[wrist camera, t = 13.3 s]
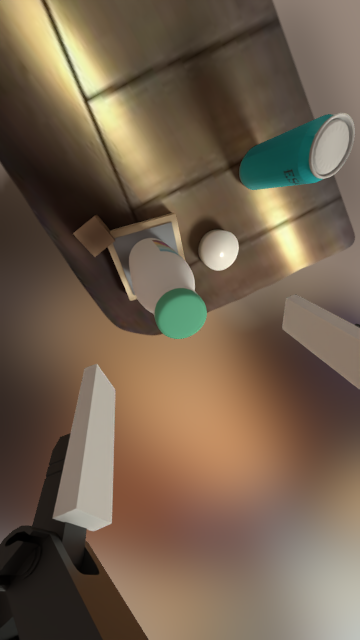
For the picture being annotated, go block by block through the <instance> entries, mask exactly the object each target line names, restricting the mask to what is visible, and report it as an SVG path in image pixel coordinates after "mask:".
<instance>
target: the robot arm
mask: <svg viewBox="0 0 360 640" xmlns="http://www.w3.org/2000/svg"><path fill="white" fill-rule="evenodd" d="M282 329H283V330H284V331H286V332H287V333H288V334H289V335H291V336H292V337H293V338H295V339H296V340H297V341H298V342H300V343H301V344H302V345H303V346H305V347H306V348H307V349H309V350H310V351H311V352H312V353H314V354H315V355H316V356H317V357H319V358H320V359H321V360H323V361H324V362H325V363H326V364H328V365H329V366H330V367H332V368H333V369H334V370H335V371H337V372H338V373H339V374H340V375H342V376H343V377H344V378H346V379H347V380H348V381H349V382H351V383H352V384H353V385H354V386H356V387H357V388H358V389H360V325H359V324H355V325H353V324H351V323H349V322H347V321H346V320H344V319H342V318H340V317H338V316H336V315H334V314H332V313H330V312H328V311H327V310H325V309H323V308H321V307H319V306H317V305H315V304H313V303H311V302H310V301H308V300H306V299H304V298H302V297H300V296H298V295H293V296H290V297H287V298H286V303H285V311H284V319H283V326H282ZM114 421H115V389H114V387H113V386H112V384H111V383H110V382H109V380H108V379H107V377H106V376H105V375H104V373H103V372H102V370H101V369H100V368H99V366H98V365H97V364H95V365H93V366H90V367H87V368H85V369H84V374H83V378H82V383H81V388H80V393H79V398H78V402H77V406H76V411H75V416H74V420H73V425H72V430H71V433H70V434H67V435H65V436H62V437H60V439H59V441H58V442H57V444H56V446H55V448H54V449H53V452H52V455H51V459H50V463H49V465H50V466H49V467H48V470H47V474H46V479H45V481H44V485H43V488H42V492H41V496H40V500H39V503H38V507H37V511H36V514H35V518H34V522H33V525H32V526H20V527H19V528H17V529H15V530H13V531H12V532H11V533H10V534H9V535H8V536H7V537H6V538H5V539H4V540H3V541H2V543H1V544H0V640H148V638H147V636H146V635H145V633H144V632H143V630H142V628H141V627H140V625H139V624H138V622H137V620H136V619H135V617H134V616H133V614H132V612H131V611H130V609H129V608H128V606H127V604H126V603H125V601H124V600H123V598H122V597H121V595H120V593H119V592H118V590H117V588H116V587H115V585H114V584H113V582H112V580H111V579H110V577H109V576H108V574H107V572H106V571H105V569H104V567H103V566H102V564H101V563H100V561H99V560H98V558H97V556H96V555H95V553H94V552H93V550H92V548H91V547H90V545H89V543H88V542H87V541H85V538H86V529H88V530H91V531H95V530H98V529H100V528H102V527H104V526H106V525H109V524H111V523H112V499H113V458H114Z"/></svg>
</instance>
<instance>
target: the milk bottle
mask: <svg viewBox="0 0 360 640" xmlns="http://www.w3.org/2000/svg"><path fill="white" fill-rule="evenodd" d="M129 268H130V275H131V280H132V285H133V289H134V292H135V295H136V297H137V299H138V300H139V302H140V303H141V304H142V305H143V307H145V308H146V309H147V310H148V311H150V312H152V313H154V316H155V320H156V323H157V326H158V328H159V329H160V331H161V332H162V333H163V334H164V335H166V336H168V337H170V338H174V339H182V338H187V337H189V336H191V335H193V334H195V333H196V332H197V331H198V330H200V328H201V327H202V326H203V324H204V322H205V320H206V316H207V310H206V306H205V303H204V302H203V300H202V299H201V297H200V296H199V295H198V294H197V293H196V292H195V281H194V276H193V273H192V271H191V269H190V267H189V265H188V264H187V263H186V261H185V260H184V259H183V258H182V257H181V256H180V255H179V254H178V253H176V252H175V251H174V250H173V249H172V248H171V247H170V246H168V245H167V244H166V243H165V242H163V241H161V240H159V239H156V238H146V239H143V240H141V241H139V242H138V243H136V244H135V245H134V247H133V248H132V250H131V252H130V255H129Z"/></svg>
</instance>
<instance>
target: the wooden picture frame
mask: <svg viewBox="0 0 360 640" xmlns="http://www.w3.org/2000/svg"><path fill="white" fill-rule="evenodd" d="M109 233H110V234H111V235H112V236H113V237H114V239H115V241H114V242H113V243H112V244H111V245H109V246H108V249H109V252H110V254H111V256H112V259H113V261H114V263H115V266H116V268H117V271H118V273H119V275H120V278H121V280H122V282H123V285H124V287H125V289H126V292H127V294H128V296H129V299H130V301H132V300H135V299H137V297H136V295H135V292H134V289H133V285H132V280H131V275H130V268H129V255H130V252H131V250H132V248H133V247H134V245H135V244H136V243H138V242H139V241H141V240H143V239H146V238H156V239H159V240H161V241H163V242H165V243H166V244H167V245H168V246H170V247H171V248H172V249H173V250H174V251H175V252H176V253H178V254H179V255H180V256H181V257H182V258H183V259H184V260H185V257H184V253H183V248H182V243H181V238H180V233H179V228H178V223H177V218H176V214H175V213H170V214H167V215H163V216H160V217H156V218H153V219H149V220H146V221H142V222H138V223H135V224H131V225H128V226H124V227H121V228H117V229H113V230H110V232H109Z"/></svg>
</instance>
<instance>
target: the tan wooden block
mask: <svg viewBox="0 0 360 640" xmlns="http://www.w3.org/2000/svg"><path fill="white" fill-rule="evenodd" d="M109 232H110V230H109V229H108V227H107V226H106V225H105V224H104V222H103V221H102V220H101V219H100V217H99V216H98V215H95V216H94V217H92V218H91V219H90V220H89V221H88V222H86V223H85V224H84V225H83V226H82V227H80V228H79V229H78V230H77V231H75V232H74V233H73V234H74V235H75V237H76V238H77V239H78V240H79V241H80V242H81V243H82V244H83V245H84V246H85V247H86V248H87V249H88V250H89V251H90V253H91V254H92V255H93V256H94V257H96V256H97V255H98V254H99V253H101V252H102V251H103V250H104V249H106V248H107V247H108V246H109V245H111V244H112V243H113V242H114V241H115V239H114V237H113V236H112V235H111V234H110V233H109Z"/></svg>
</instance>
